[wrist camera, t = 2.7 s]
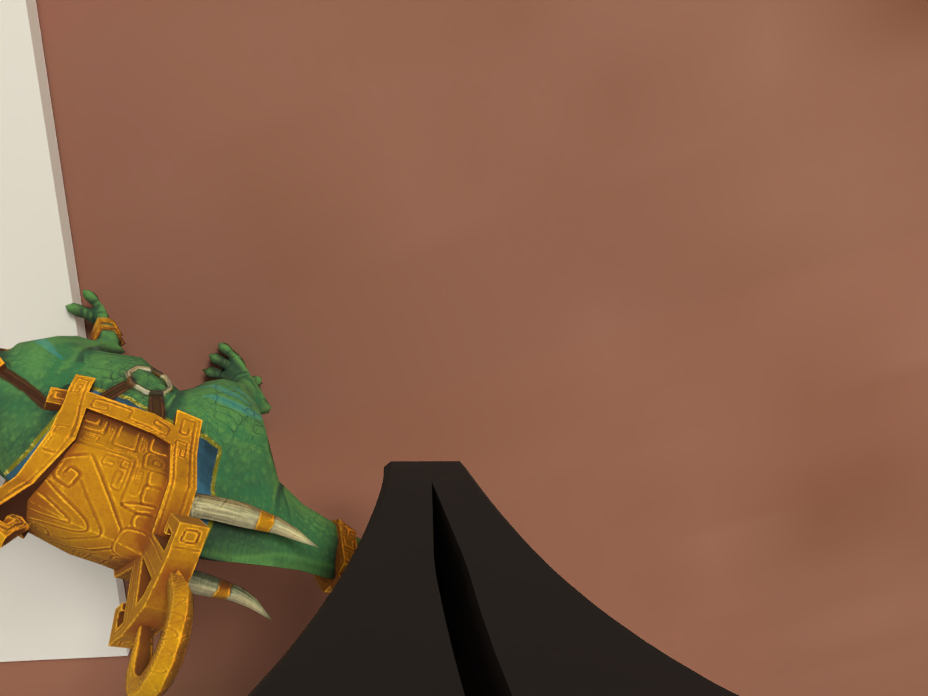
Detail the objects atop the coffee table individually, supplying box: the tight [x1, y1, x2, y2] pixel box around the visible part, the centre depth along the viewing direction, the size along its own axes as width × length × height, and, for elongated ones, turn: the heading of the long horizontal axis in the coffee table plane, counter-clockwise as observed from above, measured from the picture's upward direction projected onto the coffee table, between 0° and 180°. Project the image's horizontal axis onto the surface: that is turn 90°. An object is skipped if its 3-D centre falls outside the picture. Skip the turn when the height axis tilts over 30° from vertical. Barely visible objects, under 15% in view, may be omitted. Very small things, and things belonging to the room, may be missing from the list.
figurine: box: [0, 290, 361, 696], centre depth 11 cm, size 3×12×8 cm, turn 57°
